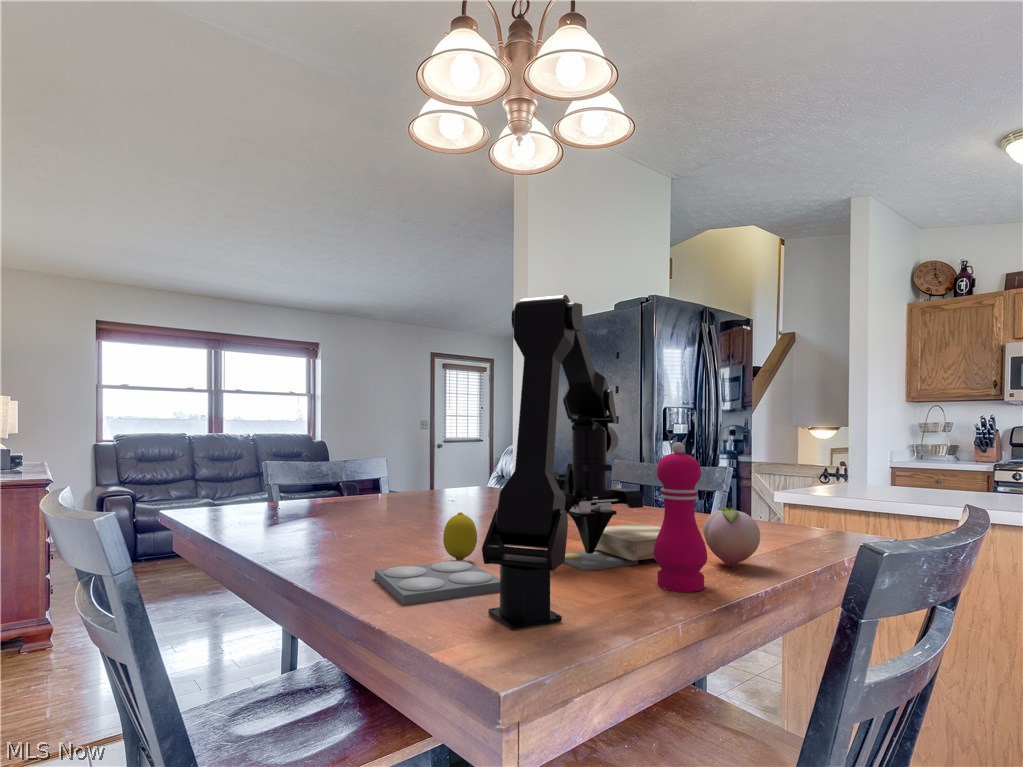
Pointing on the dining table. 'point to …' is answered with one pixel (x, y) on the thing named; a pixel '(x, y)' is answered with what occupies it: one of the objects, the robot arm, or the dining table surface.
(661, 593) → the dining table surface
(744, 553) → the decorative fruit
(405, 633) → the dining table surface
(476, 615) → the dining table surface
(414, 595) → the board
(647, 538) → the cover
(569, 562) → the grey dotted plate
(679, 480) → the pepper mill
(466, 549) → the lemon
